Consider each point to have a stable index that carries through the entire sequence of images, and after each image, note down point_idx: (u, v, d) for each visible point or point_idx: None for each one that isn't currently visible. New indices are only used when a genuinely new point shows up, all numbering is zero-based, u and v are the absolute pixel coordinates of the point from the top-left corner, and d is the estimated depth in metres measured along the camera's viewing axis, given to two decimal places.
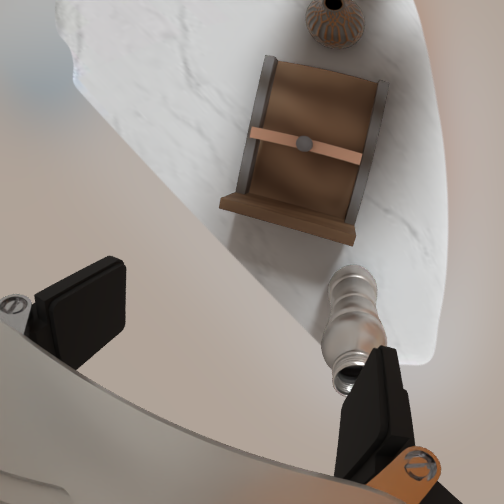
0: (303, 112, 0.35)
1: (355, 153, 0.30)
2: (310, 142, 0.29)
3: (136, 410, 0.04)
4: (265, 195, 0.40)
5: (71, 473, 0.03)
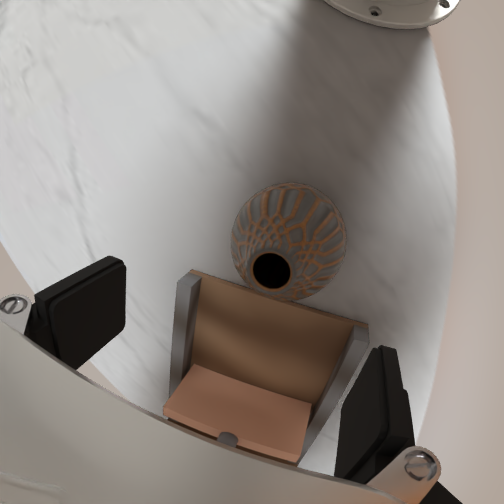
0: (241, 353, 0.27)
1: (291, 454, 0.21)
2: None
3: (136, 410, 0.04)
4: None
5: (71, 473, 0.03)
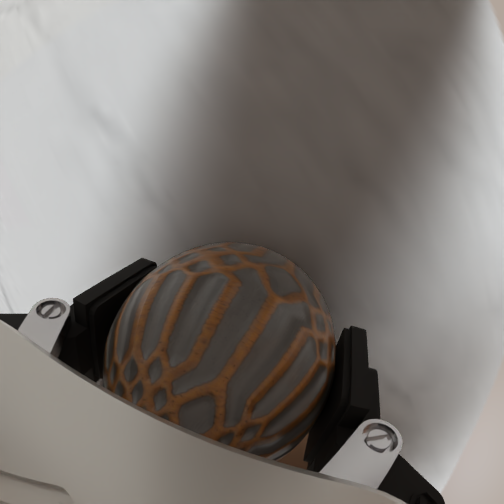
0: None
1: None
2: None
3: (136, 410, 0.04)
4: None
5: (71, 473, 0.03)
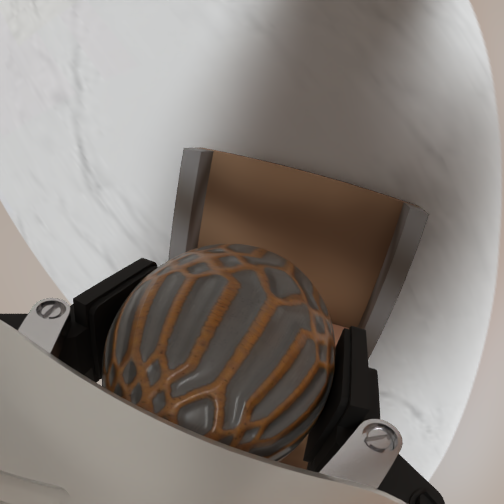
0: None
1: None
2: None
3: (136, 410, 0.04)
4: None
5: (71, 473, 0.03)
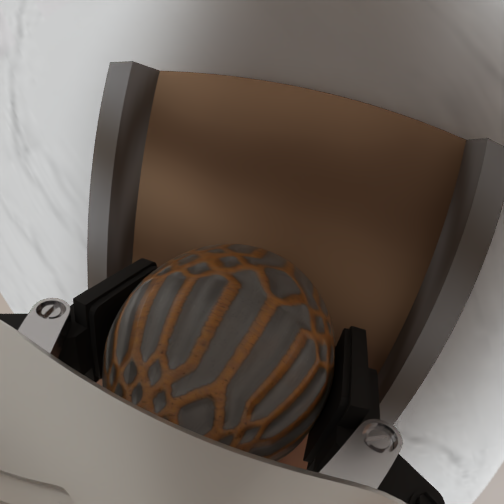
0: (229, 233, 0.13)
1: None
2: None
3: (136, 410, 0.04)
4: None
5: (71, 473, 0.03)
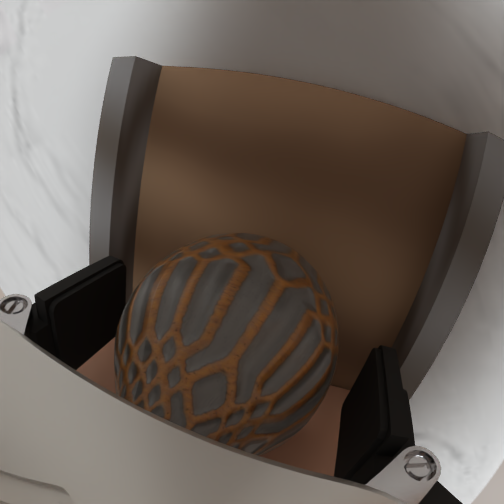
0: (231, 227, 0.13)
1: None
2: None
3: (136, 410, 0.04)
4: None
5: (71, 473, 0.03)
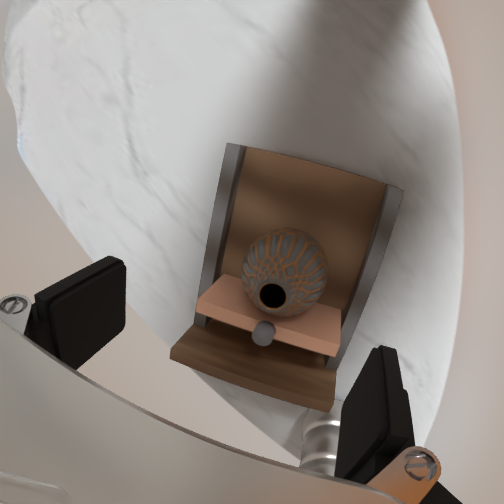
0: (280, 226, 0.28)
1: (331, 344, 0.23)
2: (270, 336, 0.23)
3: (136, 410, 0.04)
4: None
5: (71, 473, 0.03)
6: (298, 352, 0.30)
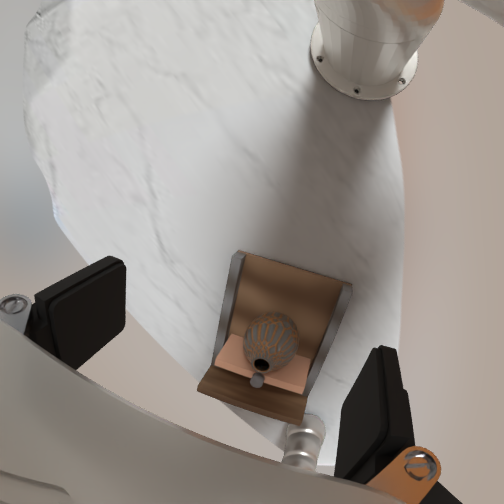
0: (269, 307, 0.41)
1: (299, 387, 0.36)
2: (261, 383, 0.36)
3: (136, 410, 0.04)
4: None
5: (71, 473, 0.03)
6: None
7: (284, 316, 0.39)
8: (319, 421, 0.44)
